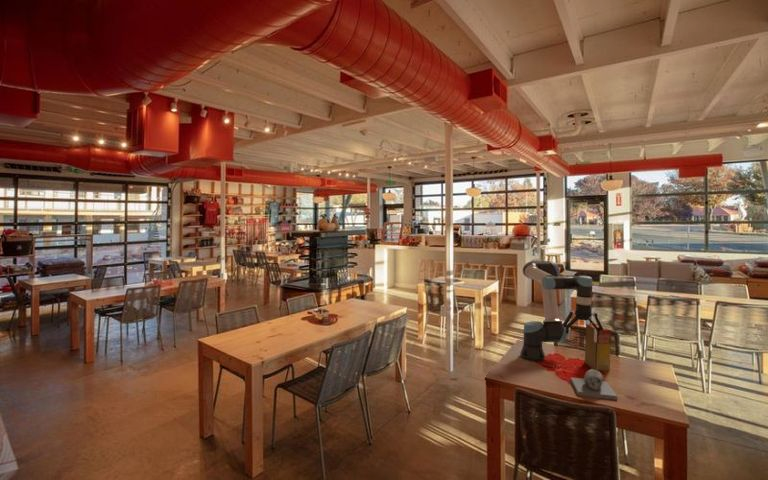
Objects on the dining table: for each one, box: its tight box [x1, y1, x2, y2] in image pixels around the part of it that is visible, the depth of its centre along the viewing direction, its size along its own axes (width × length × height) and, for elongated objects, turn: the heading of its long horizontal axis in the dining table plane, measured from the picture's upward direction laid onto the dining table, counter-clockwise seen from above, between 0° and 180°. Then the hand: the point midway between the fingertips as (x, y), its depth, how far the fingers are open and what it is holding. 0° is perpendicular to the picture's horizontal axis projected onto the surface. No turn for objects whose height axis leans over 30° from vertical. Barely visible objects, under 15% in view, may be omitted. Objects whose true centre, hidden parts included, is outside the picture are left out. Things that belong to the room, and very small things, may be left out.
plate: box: [570, 376, 618, 401], centre depth 200 cm, size 18×18×2 cm
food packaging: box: [584, 323, 612, 372], centre depth 231 cm, size 13×9×25 cm
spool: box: [583, 368, 604, 390], centre depth 200 cm, size 14×10×10 cm
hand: (581, 340), depth 211 cm, fingers open, 13 cm apart
